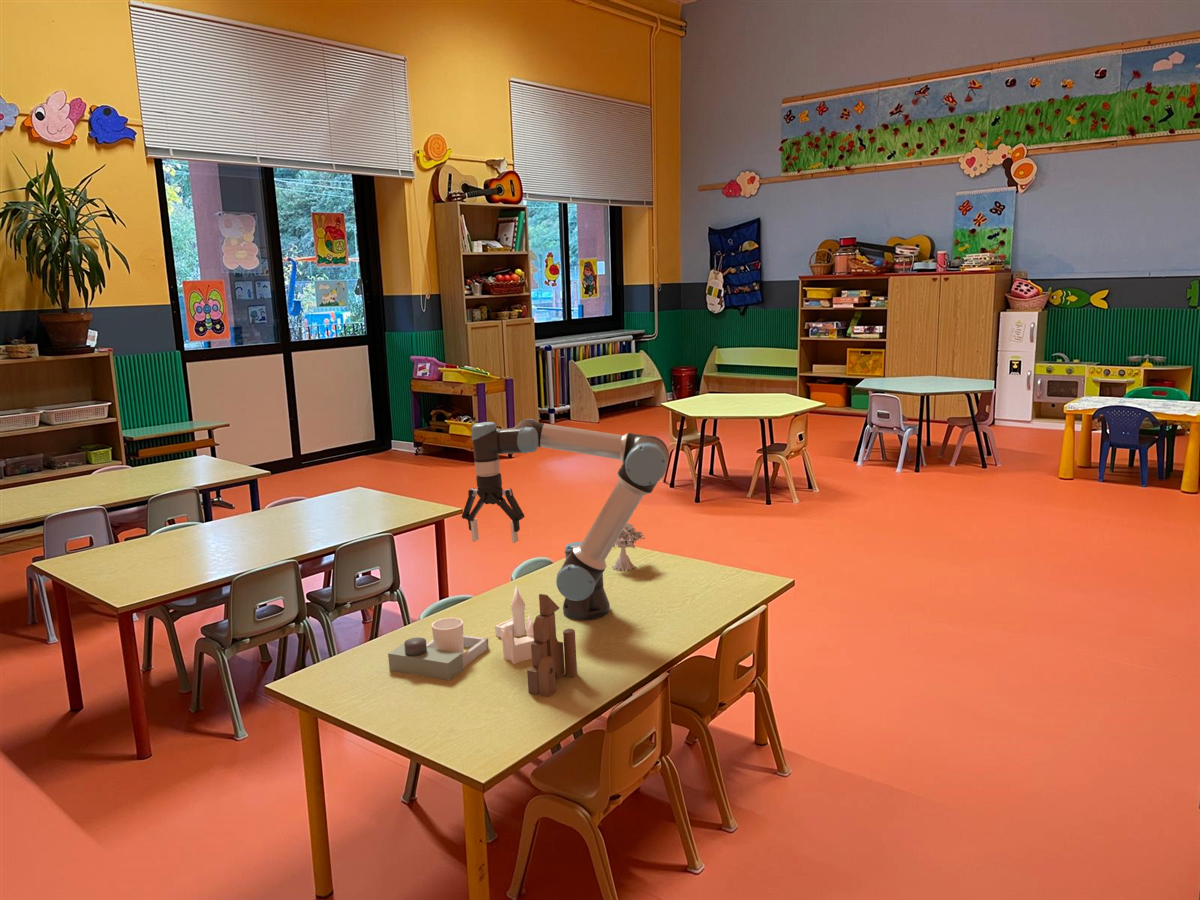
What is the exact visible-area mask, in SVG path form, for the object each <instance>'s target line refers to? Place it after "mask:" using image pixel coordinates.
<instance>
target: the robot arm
mask: <svg viewBox="0 0 1200 900" xmlns="http://www.w3.org/2000/svg"><path fill="white" fill-rule="evenodd" d="M471 441H472V442H471V444H472V448H473V449H472V451H473V457H474V469H475V474H476V477H475V479H476V480H475V481H476V487H477V489H476V487H472V488H470V489H469V490H468V494H467V495H468V496H467V500H466V503H465V504H464V505H465V506H464V509H463V511H462V515H461V518H462V519H465V520H467V523H468V529H469V531H471V538H472V539H471V540H472V542H473V543H475V542H476V541H478V540H479V539H480V538H479V529H478V526H479V525H478V518H476V516H477V515H478V513H479V511H480V510H481V509H482V507H483V506H484V505H497V506H498V507H500V509H501V510H502V511H503V512H504V513H505V514H506V515H507V516H508V518H510V520H511V521H510V523H509V524H510V531H511V532H510V533H511V542H512V544H516V543H517V542H519V533H518V532H519V531H520V528H521V527H520V521H521V520H523V519H524V518H525V514H524V512H523V511H522V510H523V509H522V507H520V505H519V503H518V501H517V499H516V497H515V495H514V493H513V489H512V488H510V487H509V488H508V489H503V487H502V486H503V482H502V481H503V480H502V479H503V478H502V474H501V473H500V472H501V462H500V455H502V454H505V455H506V454H527V453H535V452H536V451H537V450H538V448H545V449H549V450H550V449H552V450H556V451H563V452H569V453H577V454H582V455H589V456H596V457H601V458H607V459H613V460H620V462H621V467H620V468H619V469H618V471H617V478H618V481H617V482H616V485H615V486H614V488H613V489H612V491H611V493H610V495H609V496H608V498H607V500H606V502H605V503H604V504H603V507H602V508H601V510H600V512H599V514H598V515H597V516H596V518H595V520H594V522H593V523H592V525H591V526H590V528H589V530H588V531H587V533H586V535H585V537H584V539H583V540H582V541H573V542H569V543H567V544H566V545H565V547H564V548H565V549H564V553H565V560H564V562H563V564H562V566H561V568H560V569H559V570H558V572H557V575H556V580H555V581H556V587H557V591H559V593H560V594H561V596H563V597H564V600H563V601H564V602H563V605H562V614H563V615H564V616H565V617H566V618H568V619H571V620H577V621H591V620H597V619H601V618H603V617H605V616H607V615H609V614H610V612H611V607H610V601H609V599H608V596H607V594H606V590H605V588H604V572H605V570H606V568H607V563H606V559H607V557H608V555H609V554H610V553H611V550H612V549H613V545H614V544H615V542H616V540H617V539H618V537H619V535H620V534H621V532H622V531H623V529H624V527H625V526H626V524H627V523H629V521H630V519H631V517H632V515H633V514H634V512H635V510H636V509H637V508H638V505H639V504H640V502H641V501H642V499H643V497H644V496H647V495H650V494H651V493H652V492H653V491H654V489H655V487H656V485H658V482H659V481H660V480H661V479H662V478H663V477H664V475H665V473H666V472H667V469H668V462H669V458H670V457H669V456H670V452H669V449H668V446H667V444H666V443H665V442H664V441H663V440H662V439H661V438H659V437H657V436H655V435H649V434H640V433H631V432H626V433H624V434H616V433H609V432H602V431H595V430H589V429H583V428H576V427H571V426H563V425H557V424H551V423H542V422H538V421H537V420H536V419H532V418H526V419H524V420H521V421H519V422H518V423H517V424H516V425H515V426H514V427H509V428H498V427H497V424H496V422H493V421H483V422H478V423H475V424H473V425H472V426H471ZM477 496H478V498H479V499H478V500H477V502H476V504H475V506H474V507H473V505H474V503H475V499H476V497H477ZM503 496H504V497H505V498H504V497H503ZM472 507H473V509H472ZM615 545H616V544H615Z"/></svg>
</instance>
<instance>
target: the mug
mask: <svg viewBox="0 0 1200 900" xmlns="http://www.w3.org/2000/svg"><path fill="white" fill-rule="evenodd" d="M431 632H432V638H433V639H434V647H435V649H440V650H446V651H453V652H459V653H462V654H464V653H465V649H464V648H465V646H464V640H463V635H464V621H463V620H462V619H461V618H459V617H444V618H440V619H437V620H434V621H433V622H432V623H431ZM433 639H432V640H433Z"/></svg>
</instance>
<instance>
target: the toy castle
mask: <svg viewBox="0 0 1200 900" xmlns="http://www.w3.org/2000/svg"><path fill="white" fill-rule="evenodd" d="M525 606H526V604H525V602H524V599H523V597H522V594H521V591H520V589H519V587H518V585H517V584H516V585H515V589H514V593H513V595H512V600H511V604H510V610H511V612H512V618H509V619H508V620H507V619H506V621H503V622H501V623H498V624H496V625H495V626H494V628H495V636H496V637H498V638H500V639H501V642H502V653H503V659H504V660H505V661H507V660H508V661H510V662H512V664H513V665H515V664H517V663H520V661H521V662H525V661H528V660H532V652H531V644H532V643H533V642H535V641H534V634H533V624H534V621H533V619H532V617H531V614H528V617H527V620H526V619H525V610H526V608H525ZM526 621H527V622H526ZM522 635H523V636H522ZM525 635H527V636H525ZM516 637H518V638H516ZM524 660H525V661H524Z"/></svg>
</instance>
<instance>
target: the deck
mask: <svg viewBox="0 0 1200 900" xmlns="http://www.w3.org/2000/svg"><path fill="white" fill-rule="evenodd" d="M463 640H464V648H465V647H466V648H469V649H467V650H466V651H464V654H462V653H459V652H453V651H446V650H440V649H435V647H434V639H431V640H430V641H429V642H428V643H427V640H426V638H424V637H420V636H419V637H411V638H409V639H407V640H405V641H404V642H403V643H402V644H400V645H399V646H397V647H396V648H394V649H393V650H391V651H389V652H388V653H387V657H388V669H389V671H393V672H400V673H404V674H411V675H417V676H422V677H428V678H433V679H440V680H446V681H450V680H452V679H453V678H454V677H455V676H457V675H459V674H460V673H461V672H462V671H464V668H465V667H466V666H467V665H468V664H470V663H472V662H473V660H475V659H476V658H478V657H479V656H480V655H481V654H483V653H484V652H485V651H487V650H488V649H489V638H487V637H479V636H473V635H467V634H463Z"/></svg>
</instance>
